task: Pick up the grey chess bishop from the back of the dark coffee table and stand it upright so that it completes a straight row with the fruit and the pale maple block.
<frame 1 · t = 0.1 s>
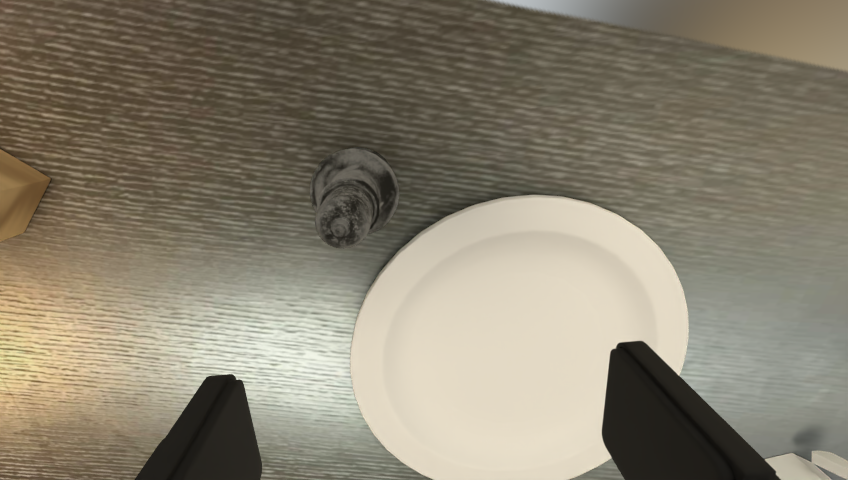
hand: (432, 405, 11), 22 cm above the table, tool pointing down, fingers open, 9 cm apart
grey chess bishop: (359, 182, 31), on the table
plate: (513, 346, 37), on the table
mug: (779, 468, 44), on the table
maple block: (1, 186, 29), on the table
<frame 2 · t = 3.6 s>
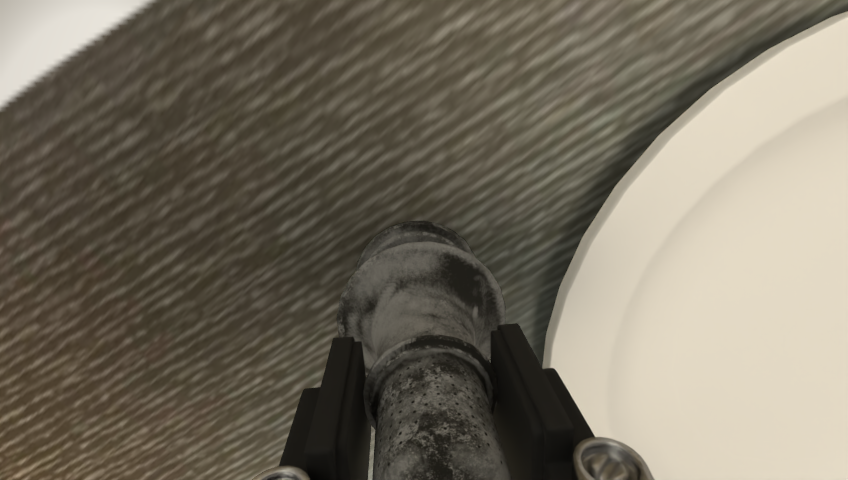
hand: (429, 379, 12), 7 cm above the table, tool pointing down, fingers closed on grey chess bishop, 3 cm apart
grey chess bishop: (417, 278, 18), on the table, touching gripper
plate: (814, 324, 20), on the table
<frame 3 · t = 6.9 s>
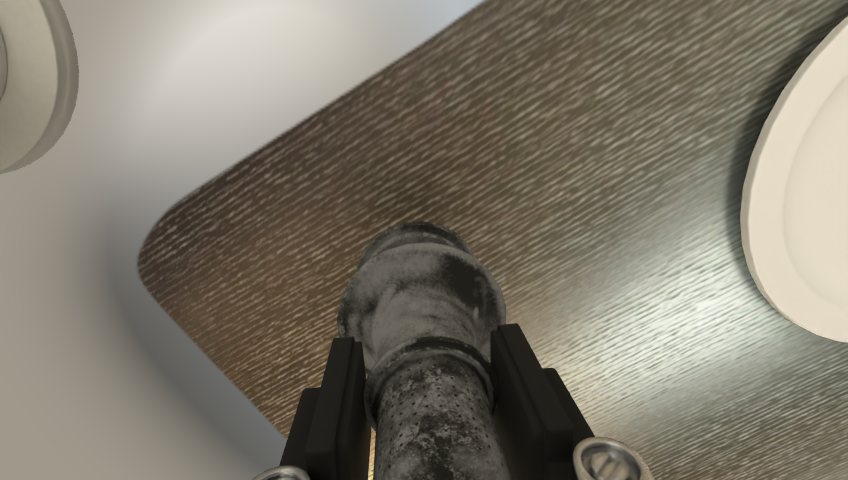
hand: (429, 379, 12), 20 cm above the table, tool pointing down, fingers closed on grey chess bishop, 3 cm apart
grey chess bishop: (417, 279, 18), point 13 cm above the table, touching gripper
when the fingers open (7 cm above the table, at t = 10.3 s): grey chess bishop stays where it is, on the table.
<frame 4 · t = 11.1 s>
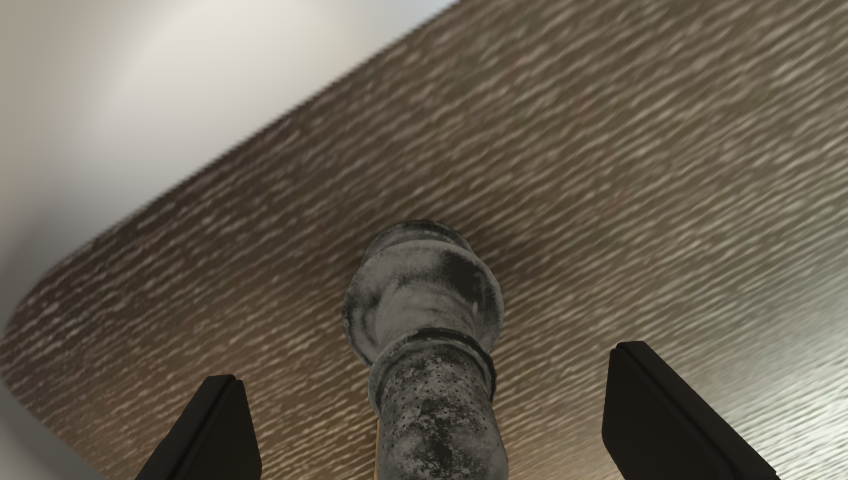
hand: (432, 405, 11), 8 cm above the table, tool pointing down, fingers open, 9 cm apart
grey chess bishop: (418, 275, 19), on the table
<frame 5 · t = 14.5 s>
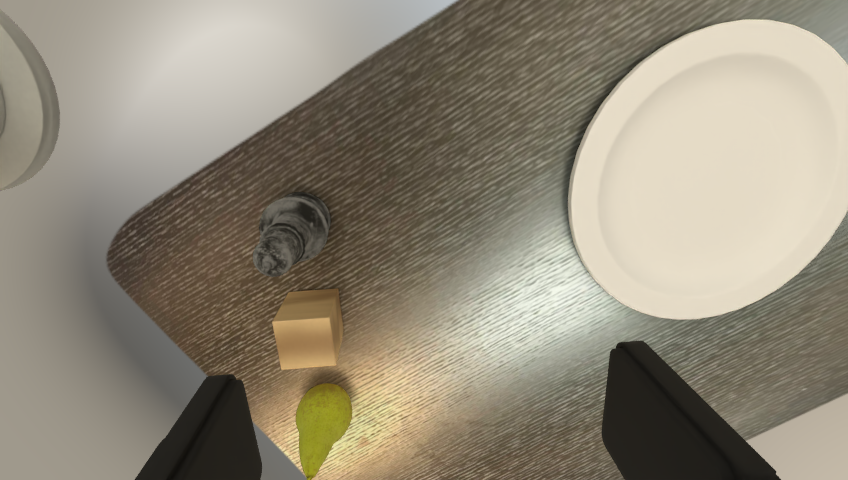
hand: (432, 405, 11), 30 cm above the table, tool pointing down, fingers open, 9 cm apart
fruit: (329, 390, 46), on the table
grey chess bishop: (302, 218, 40), on the table
plate: (699, 181, 41), on the table
maple block: (316, 311, 43), on the table
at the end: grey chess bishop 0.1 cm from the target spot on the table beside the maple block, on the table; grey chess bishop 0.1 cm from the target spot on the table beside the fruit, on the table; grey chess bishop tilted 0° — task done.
